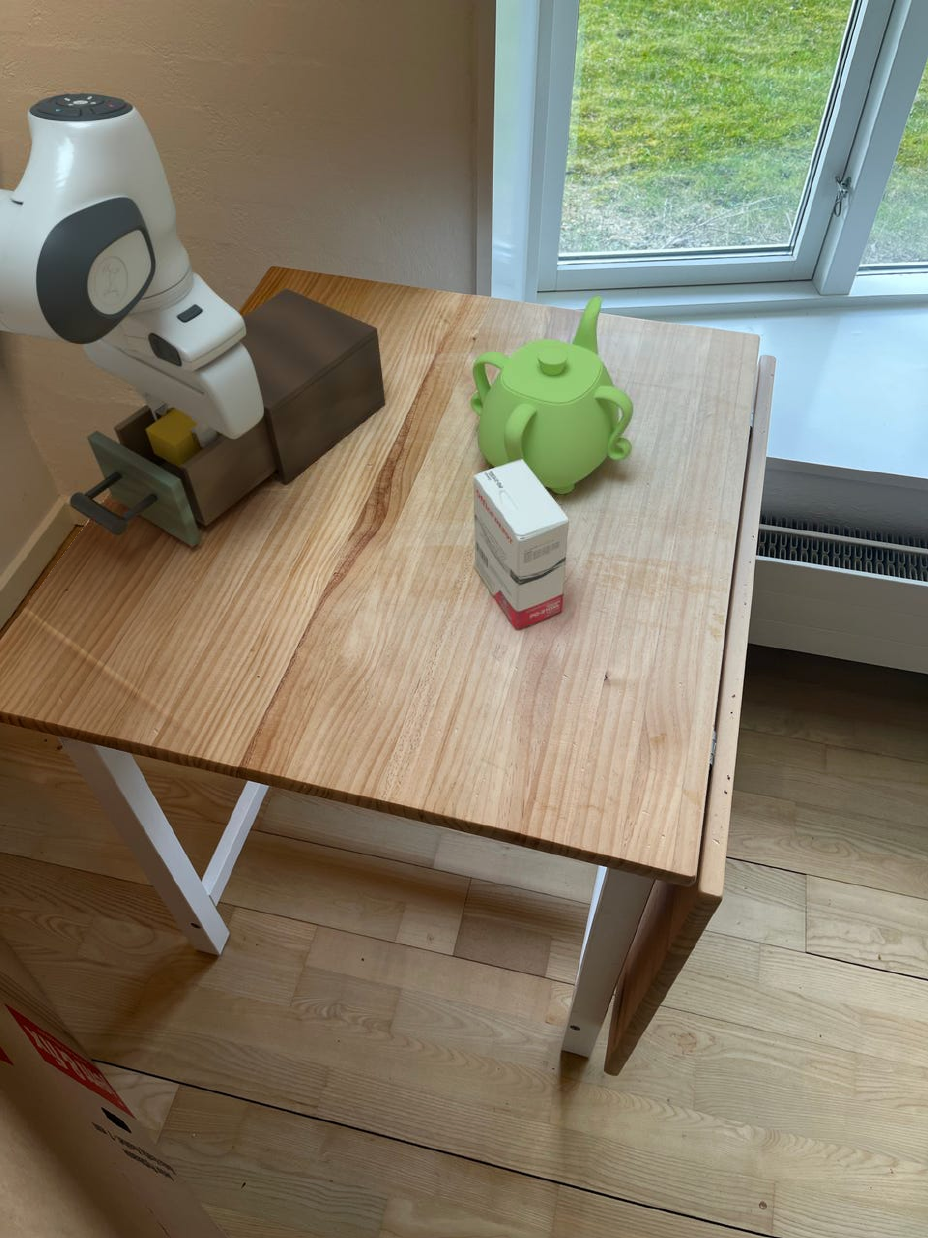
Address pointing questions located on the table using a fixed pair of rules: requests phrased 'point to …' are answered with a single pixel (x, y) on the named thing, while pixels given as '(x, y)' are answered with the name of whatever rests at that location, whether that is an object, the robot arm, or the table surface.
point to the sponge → (174, 438)
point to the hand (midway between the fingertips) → (187, 432)
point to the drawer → (173, 478)
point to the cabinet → (311, 376)
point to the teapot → (552, 407)
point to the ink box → (520, 543)
